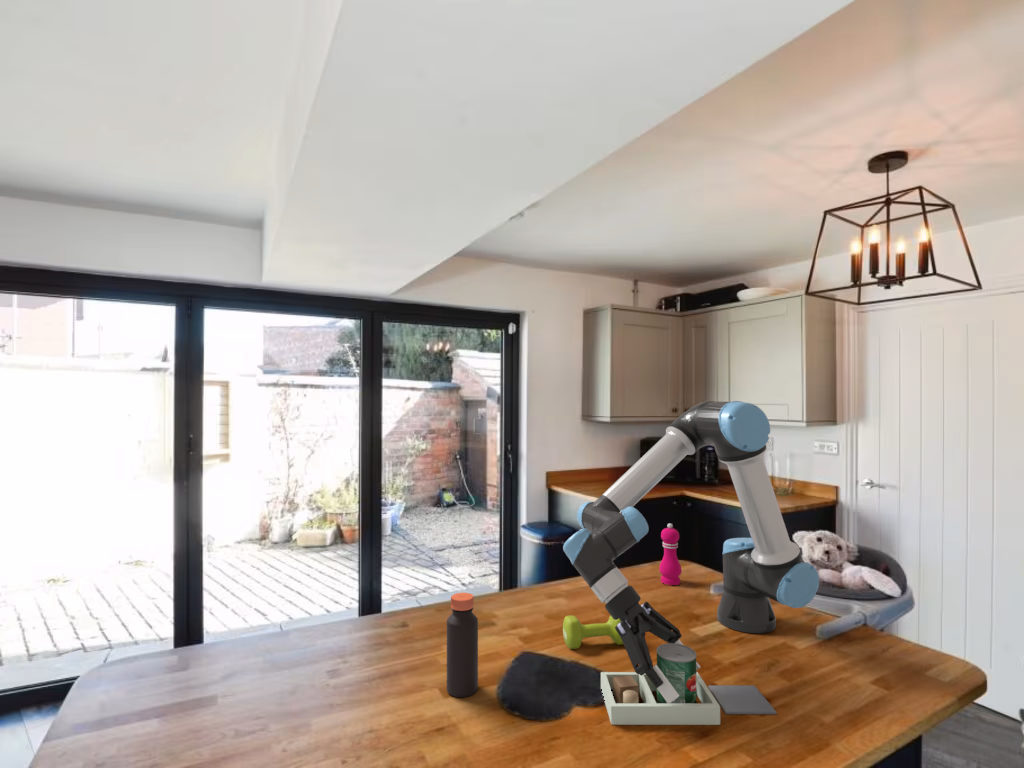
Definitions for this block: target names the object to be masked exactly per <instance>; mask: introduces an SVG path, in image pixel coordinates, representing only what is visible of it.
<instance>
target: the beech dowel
mask: <svg viewBox="0 0 1024 768" xmlns="http://www.w3.org/2000/svg"><path fill="white" fill-rule="evenodd" d="M623 703H638V693H637V692H636V691H633V690H626V691H624V692H623Z"/></svg>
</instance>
